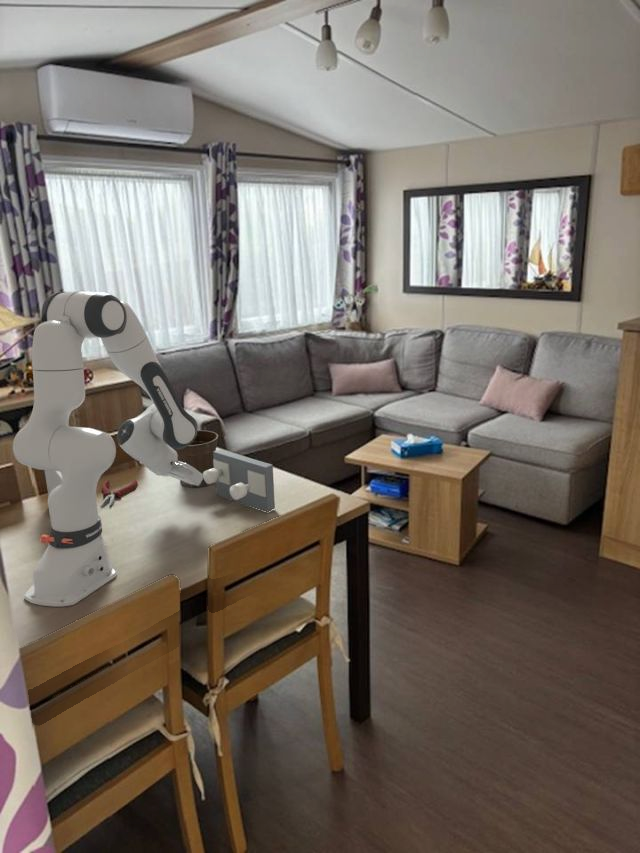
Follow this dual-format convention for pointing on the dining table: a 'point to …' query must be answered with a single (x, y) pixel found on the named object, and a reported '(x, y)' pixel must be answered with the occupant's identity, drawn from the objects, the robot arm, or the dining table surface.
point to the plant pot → (199, 453)
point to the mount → (245, 479)
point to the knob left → (212, 475)
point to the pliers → (116, 492)
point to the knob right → (239, 490)
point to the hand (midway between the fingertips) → (191, 481)
